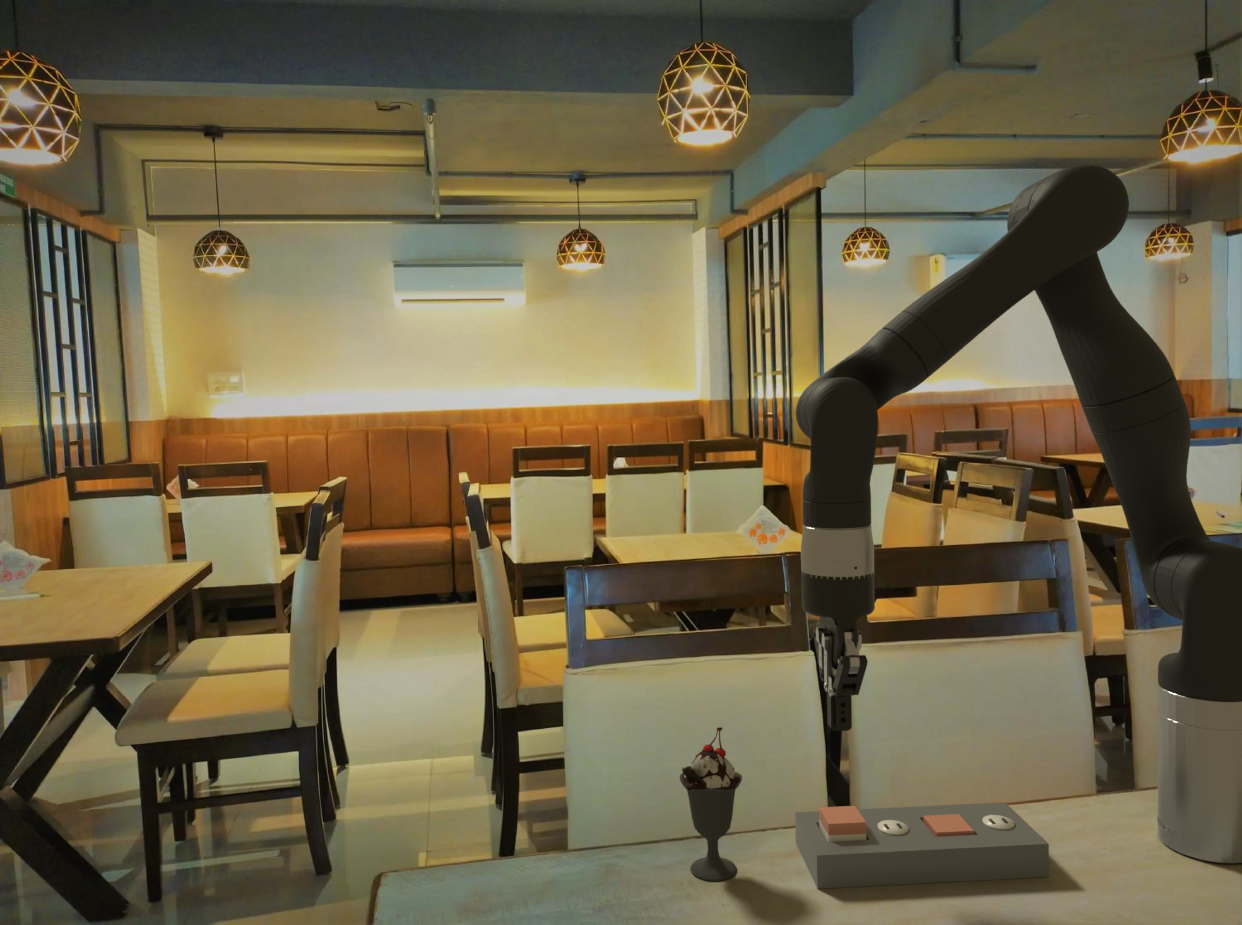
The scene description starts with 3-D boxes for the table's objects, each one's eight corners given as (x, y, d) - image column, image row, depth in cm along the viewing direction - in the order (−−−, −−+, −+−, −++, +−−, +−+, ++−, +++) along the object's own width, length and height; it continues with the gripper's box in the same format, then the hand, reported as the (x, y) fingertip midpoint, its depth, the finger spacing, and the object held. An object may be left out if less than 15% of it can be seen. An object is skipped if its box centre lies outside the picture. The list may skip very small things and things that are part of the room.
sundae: (743, 854, 102) (739, 721, 101) (745, 886, 95) (741, 743, 94) (683, 853, 102) (679, 721, 101) (681, 885, 96) (677, 743, 95)
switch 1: (855, 827, 101) (855, 805, 101) (866, 845, 97) (866, 822, 97) (819, 829, 101) (818, 807, 101) (828, 847, 97) (828, 824, 97)
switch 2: (959, 836, 101) (958, 814, 101) (974, 853, 97) (974, 830, 97) (923, 837, 101) (923, 815, 101) (937, 855, 97) (936, 832, 97)
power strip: (1005, 832, 105) (1004, 799, 105) (1048, 876, 95) (1048, 840, 95) (795, 842, 104) (794, 809, 104) (817, 888, 94) (816, 852, 94)
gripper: (893, 577, 91) (894, 750, 92) (854, 556, 104) (856, 707, 105) (817, 580, 90) (820, 753, 92) (788, 558, 104) (791, 709, 105)
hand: (839, 728), depth 98 cm, fingers closed
